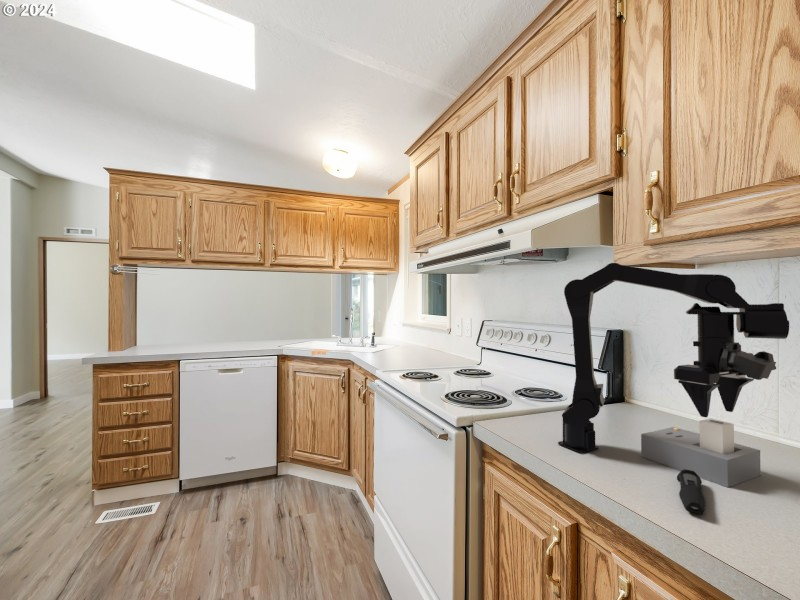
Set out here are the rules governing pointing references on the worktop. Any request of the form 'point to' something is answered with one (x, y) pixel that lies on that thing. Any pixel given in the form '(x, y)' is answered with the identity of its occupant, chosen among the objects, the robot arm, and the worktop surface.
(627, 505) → the worktop surface
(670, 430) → the block
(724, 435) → the block
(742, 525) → the worktop surface
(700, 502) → the electric trimmer
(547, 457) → the worktop surface
